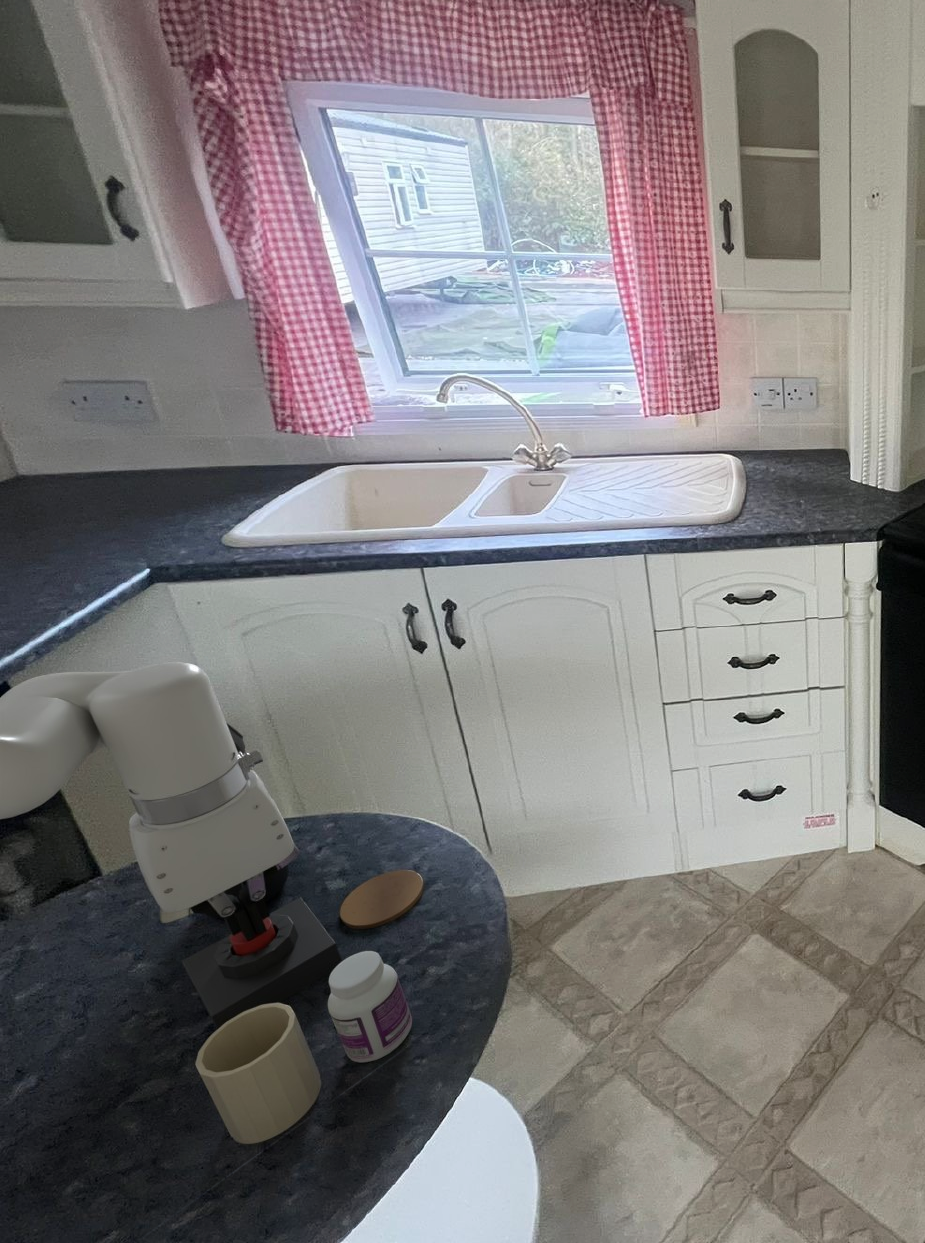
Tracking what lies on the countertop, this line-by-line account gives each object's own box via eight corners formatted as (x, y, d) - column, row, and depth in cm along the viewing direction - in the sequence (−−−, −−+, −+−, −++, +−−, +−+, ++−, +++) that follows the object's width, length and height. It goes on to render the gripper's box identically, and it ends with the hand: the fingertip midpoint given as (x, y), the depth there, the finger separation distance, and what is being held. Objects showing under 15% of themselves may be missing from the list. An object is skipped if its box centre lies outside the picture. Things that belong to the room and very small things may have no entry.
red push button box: (222, 1039, 75) (205, 1003, 73) (191, 982, 80) (175, 948, 78) (343, 964, 83) (331, 931, 81) (308, 917, 88) (296, 884, 86)
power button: (240, 962, 78) (235, 949, 77) (230, 945, 79) (225, 933, 79) (280, 939, 80) (275, 927, 79) (269, 924, 82) (264, 912, 81)
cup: (243, 1161, 66) (209, 1093, 62) (219, 1113, 69) (186, 1046, 66) (332, 1096, 70) (305, 1030, 67) (306, 1055, 74) (279, 989, 70)
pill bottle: (406, 1001, 79) (384, 933, 75) (418, 1038, 76) (395, 969, 72) (341, 1036, 76) (314, 967, 72) (351, 1077, 72) (323, 1007, 68)
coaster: (357, 941, 85) (356, 938, 85) (329, 905, 89) (328, 902, 89) (436, 894, 91) (435, 890, 91) (406, 863, 95) (405, 859, 95)
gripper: (277, 733, 80) (325, 866, 87) (67, 817, 68) (142, 962, 75) (304, 762, 76) (352, 899, 83) (86, 856, 64) (164, 1006, 71)
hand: (252, 929), depth 79 cm, fingers closed
